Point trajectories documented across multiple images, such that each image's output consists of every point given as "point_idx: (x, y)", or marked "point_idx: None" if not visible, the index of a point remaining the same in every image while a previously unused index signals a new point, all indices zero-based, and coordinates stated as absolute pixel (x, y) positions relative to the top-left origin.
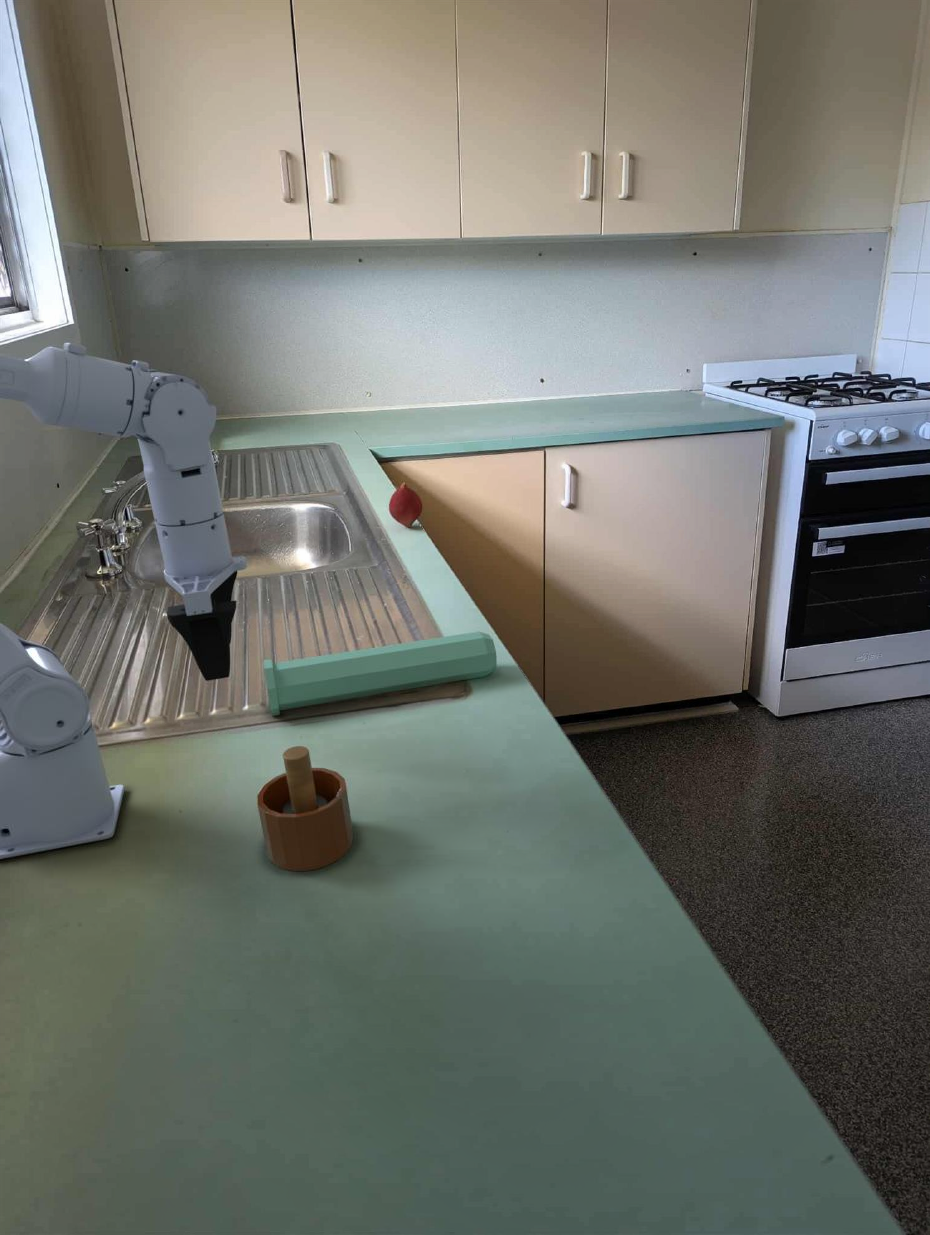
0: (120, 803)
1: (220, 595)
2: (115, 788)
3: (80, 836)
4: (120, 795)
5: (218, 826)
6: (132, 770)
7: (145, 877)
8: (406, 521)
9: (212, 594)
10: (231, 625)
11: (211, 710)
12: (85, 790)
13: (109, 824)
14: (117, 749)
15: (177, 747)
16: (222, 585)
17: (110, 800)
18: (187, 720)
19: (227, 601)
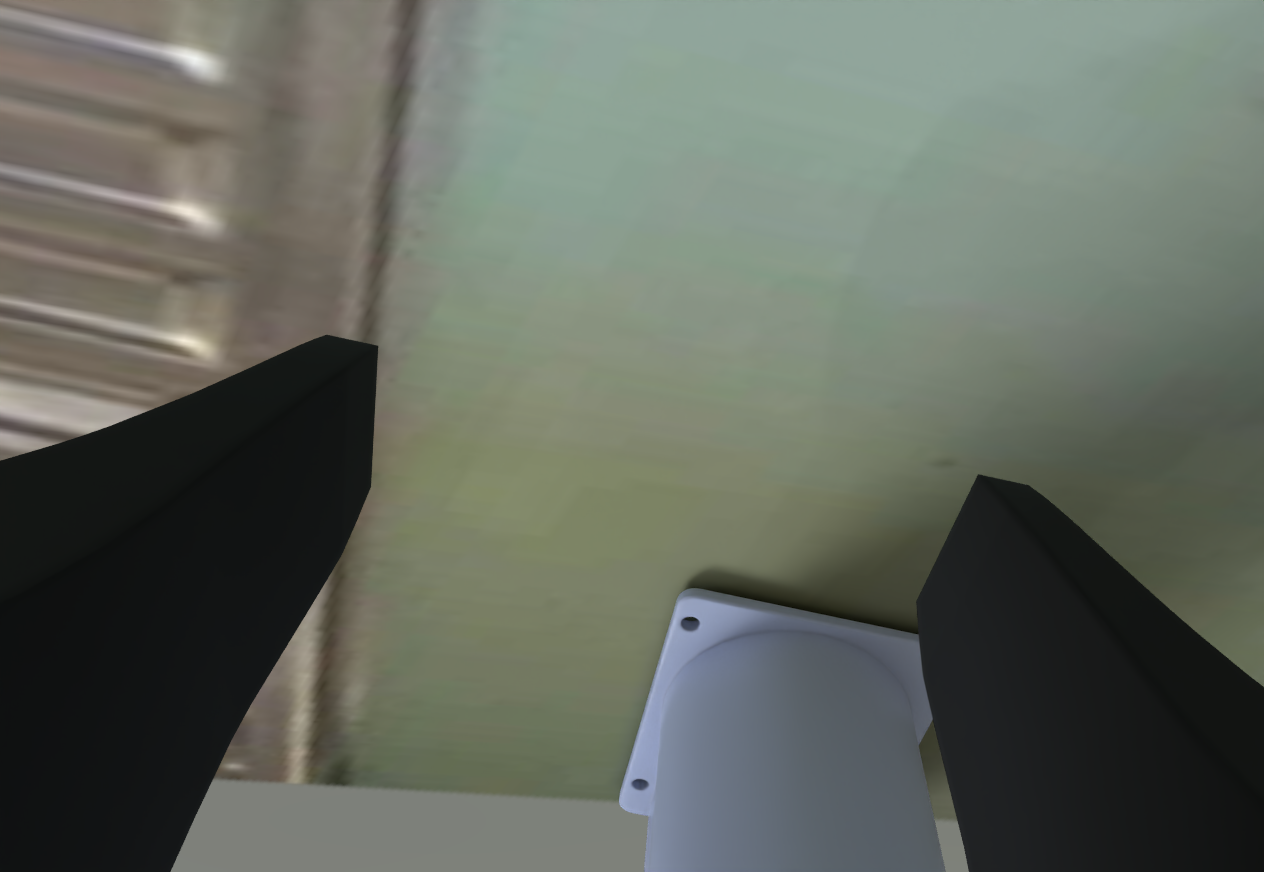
0: (789, 610)
1: (117, 662)
2: (695, 616)
3: (916, 713)
4: (753, 611)
5: (1146, 376)
6: (561, 546)
7: (1235, 598)
8: None
9: (110, 752)
10: (303, 387)
11: (175, 221)
12: (923, 794)
13: (909, 653)
14: (382, 564)
15: (465, 399)
16: (21, 740)
17: (835, 664)
18: (240, 328)
19: (169, 544)
